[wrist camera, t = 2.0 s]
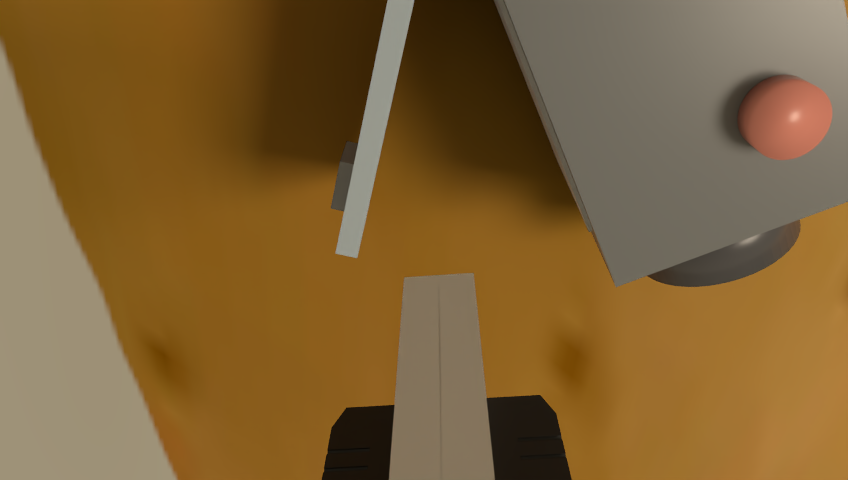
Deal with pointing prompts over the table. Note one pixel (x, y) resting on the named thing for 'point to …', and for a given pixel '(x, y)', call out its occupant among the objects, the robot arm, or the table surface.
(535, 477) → the robot arm
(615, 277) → the cam body
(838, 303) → the table surface
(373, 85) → the door
